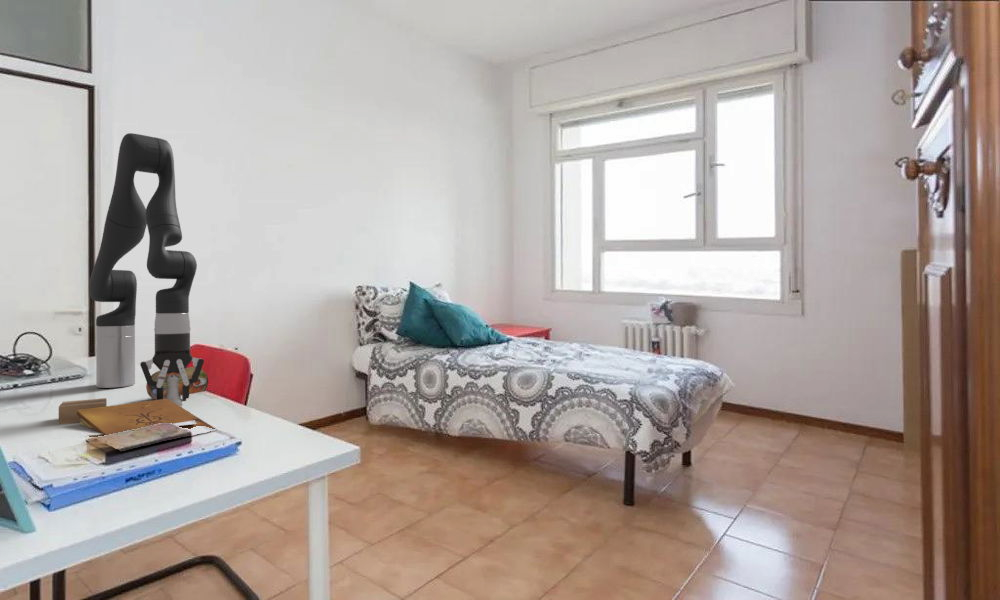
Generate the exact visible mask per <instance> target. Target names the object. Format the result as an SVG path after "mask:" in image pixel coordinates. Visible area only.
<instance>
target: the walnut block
mask: <svg viewBox="0 0 1000 600" xmlns="http://www.w3.org/2000/svg"><path fill="white" fill-rule="evenodd" d="M106 406H107V398H106V397H105V398H95V399H81V400H68V401H67V400H66V401H62V402H61V403H60V405H58V425H67V424H68V425H69V424H78V423H80V422H81V418H80V417H79V416H78V415H77V410H82V409H90V408H98V407H106Z"/></svg>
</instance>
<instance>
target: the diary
mask: <svg viewBox="0 0 1000 600" xmlns="http://www.w3.org/2000/svg"><path fill="white" fill-rule="evenodd" d="M77 415H78V416H79V417H80V418H81V422H79V423H80V426H81V425H82V426H83V427H84V426H85V427H87V428H91V429H93V430H95V431H96V432H97V433H99V434H91V435H90V434H89V435H88V436H89V437H98V436H104V435H109V434H113V433H118V432H123V431H127V430H132V429H137V428H141V427H146V426H150V425H154V424H158V423H172V424H171V425H174V424H178V423H179V424H180V423H187V422H193V421H194V422H195V423H191V424H183V425H178V426H179V427H182V428H188V429H191V428H193V427H196V426H206V427H209V428H212V429H216V427H214V426H212V425H211V424H209V423H208V422H206V421H204V420H203V419H201V418H200V417H197V415H194V414H193V413H191V411H188V410H187V409H185V408H183V406H182V407H180V406H179V405H177V404H175V403H174V402H172V401H171V400H169V399H160V400H155V399H152V400H145V401H139V402H131V403H124V404H123V403H122V404H116V405H115V404H113V405H108V406H106V407H98V408H90V409H82V410H77ZM132 431H133V430H132Z"/></svg>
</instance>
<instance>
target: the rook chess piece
mask: <svg viewBox="0 0 1000 600" xmlns="http://www.w3.org/2000/svg"><path fill="white" fill-rule="evenodd" d="M165 380H166V381H167V385H166V386H167V393H166V397H165V399H169V400H171V401H172V402H174V403H175V404H177V405H179V406H180V407H182V408H183V405H184V404H183V402H184V401H183V400H182V398H181V397H182V396H180V395H179V390H178V386H179V384H178V381H179V380H180V377H179V375H178V374H174V375H173V376H172V374H171V375H167V377H166V379H165Z"/></svg>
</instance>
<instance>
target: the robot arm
mask: <svg viewBox="0 0 1000 600" xmlns="http://www.w3.org/2000/svg"><path fill="white" fill-rule="evenodd" d="M119 144H120V145H119V148H118V149H119V150H118V156H117V162H116V164H117V165H116V171H115V177H114V178H115V179H114V185H113V190H112V194H111V198H110V201H109V202H110V203H109V205H108V209H107V213H106V217H105V222H104V227H103V233H102V237H101V243H100V247H99V250H98V254H97V256H96V260H95V262H94V266H93V268H92V272H91V275H90V278H89V283H88V295H89V297H90V298H91V299H92V301H95V302H99V303H119V305H118V306H117V308H115V309H113V310H112V311H110V312H106V313H103V314H101V315H98V316H96V319H95V336H96V337H95V338H96V339H95V341H96V342H95V347H96V348H95V353H96V355H95V356H96V357H95V358H96V359H95V360H96V361H95V374H96V378H95V379H96V381H95V383H96V384H95V386H96V388H99V389H101V388H103V389H104V388H105V389H108V388H109V389H110V388H121V387H123V388H124V387H130V386H135V385H134V384H136V315H137V313H136V312H137V311H136V309H137V307H136V306H137V292H138V291H137V290H138V289H137V288H138V287H137V286H138V282H137V281H138V280H137V276H136V274H135V273H134V272H133V271H132V270H126V269H114V267H115V265H116V264H117V263H118V262H119V261H120V260H121V259H122V258H123V257H124V256H126V255H127V254H128V253H130V251H132V250H133V249H134V248H136V246H138V245H139V244H140V243H141V242H142V240H143V238H144V237H145V233H146V230H148V235H149V242H148V253H147V258H146V268H147V271H148V274H150V275H151V276H152V277H153V278H155V279H159V280H160V279H161V280H162V279H163V280H176V281H175V283H174V284H173V286H171V287H168V288H162V289H159V290H158V291H156V293H155V317H154V318H155V319H154V328H153V329H154V330H153V331H154V355H153V357H152V358H151V359H149V360H148V359H147V360H146V361H140V369H141V370H142V373H143V375H144V378H145V380H146V385H147V384H148V385H149V386H154V387H156V399H157V400H160V399H163V387H162V385H163V382H164V379H165V376H166V374H170V373H180V376H181V379H182V381H183V385H182V395H181V397H182V398H181V399H182V400H183V402H186V401H187V399H189V398H190V394H189V386H190V384H192V383H195V382H197V380H198V377H199V375H200V372H201V369H202V368H203V365H204V363H205V361H204V359H203V358H202V357H200V358H198V357H193V355H192V353H191V321H190V313H189V312H190V307H189V305H190V304H189V300H190V299H189V298H190V293H191V289H192V285H193V282H194V279H195V276H196V273H197V266H198V264H197V260H196V258H195V256H194V255H193V254H192V252H189V251H184V250H183V251H182V250H173V249H172V250H170V249H166V248H168V247H174V246H176V245H178V244H179V243H181V241H182V240H183V234H182V233H183V232H182V228H181V223H180V219H179V216H178V215H179V213H178V210H177V209H178V208H177V201H176V176H175V160H174V153H173V148H172V145H171V144H170V143H169V141H168V140H166V139H163V138H160V137H157V136H156V137H154V136H149V135H145V134H138V133H133V132H132V133H131V132H129V133H128V132H127V133H126V134H125V135H123V136H122V139H121V141H120V143H119ZM136 172H139V173H140V172H141V173H146V174H148V173H149V174H155V175H157V178H158V184H157V185H158V186H157V188H156V189H155V192H154V193H153V195H152V196H151V198H150V200H149V201H148V203H147V206H145V205H144V202H143V201H142V199H141V197H140V196H139V194H138V192H137V189H136V188H137V187H136V186H135V174H136ZM190 363H192V365H193V366H192V367H195V369H194V372H193V375H192V378H190V379H188V377H187V374H186V371H185V368H187V367H189V364H190ZM153 364H154V366H156V368H158V371H160V373H159V376H158V379H157V381H153V380H152V377H151V375H152V374H151V373H150V370H151V369H152V365H153ZM202 370H203V369H202Z"/></svg>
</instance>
